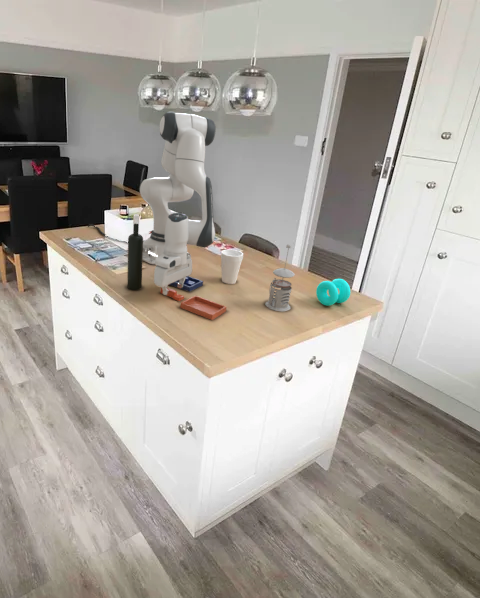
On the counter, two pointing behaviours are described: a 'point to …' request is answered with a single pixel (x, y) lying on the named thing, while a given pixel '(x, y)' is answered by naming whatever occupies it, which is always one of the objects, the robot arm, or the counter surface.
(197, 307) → the terracotta tray
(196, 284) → the navy tray
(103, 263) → the counter surface
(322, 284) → the donuts
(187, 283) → the blue stepped block
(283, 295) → the french press
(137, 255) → the wine bottle
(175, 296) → the orange red stepped block
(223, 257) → the foam cup
